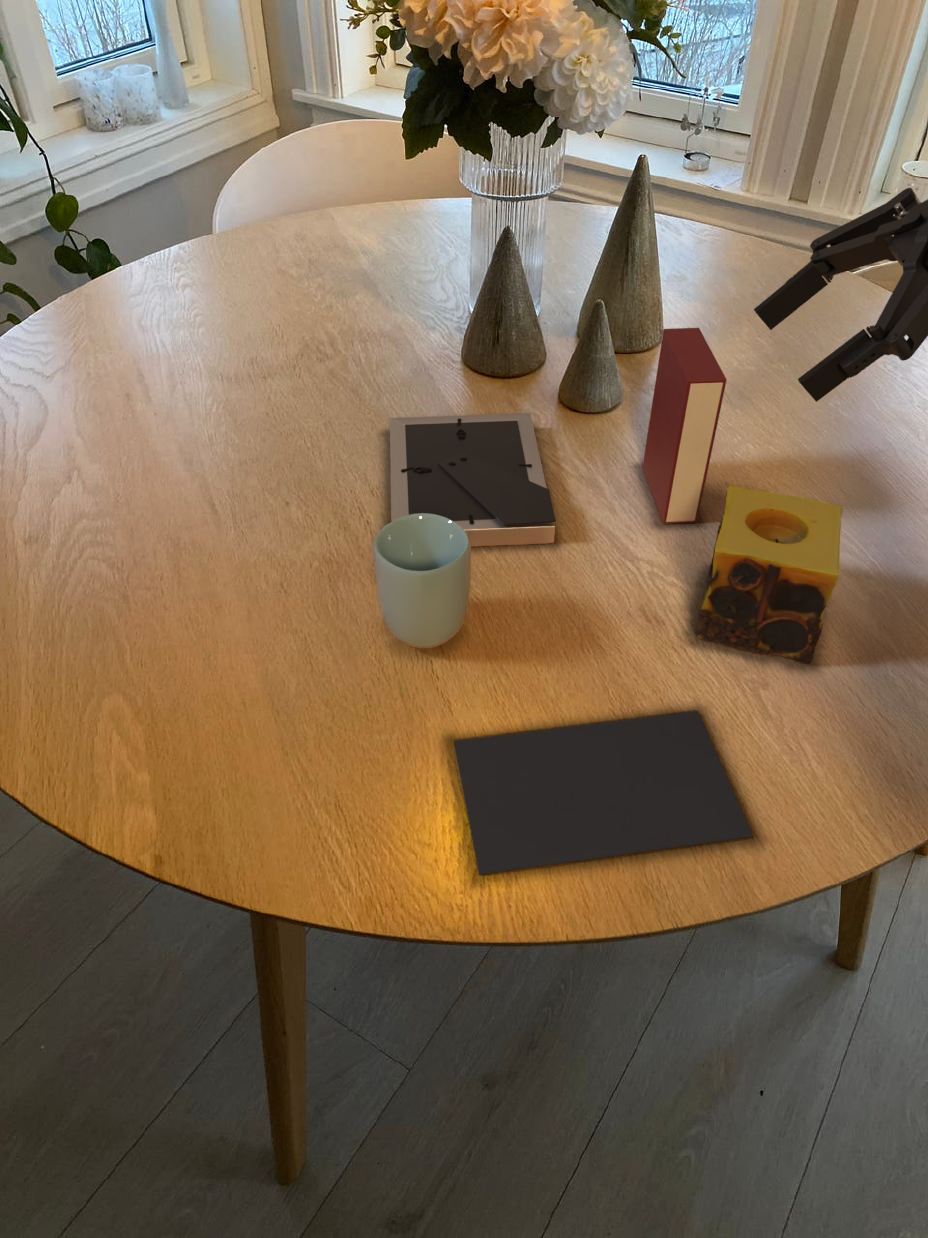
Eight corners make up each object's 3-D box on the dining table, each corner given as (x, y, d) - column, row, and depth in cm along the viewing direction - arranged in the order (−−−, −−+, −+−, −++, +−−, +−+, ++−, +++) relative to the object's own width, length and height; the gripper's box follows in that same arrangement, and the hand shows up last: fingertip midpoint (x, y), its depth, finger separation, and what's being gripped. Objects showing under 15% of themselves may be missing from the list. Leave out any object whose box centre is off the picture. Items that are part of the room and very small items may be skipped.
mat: (697, 713, 78) (698, 710, 77) (753, 837, 69) (753, 835, 69) (453, 743, 75) (453, 740, 75) (479, 875, 67) (479, 873, 67)
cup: (487, 629, 85) (489, 541, 78) (423, 675, 81) (419, 586, 74) (426, 588, 89) (423, 501, 82) (363, 630, 85) (353, 541, 78)
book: (642, 467, 103) (663, 328, 92) (674, 466, 103) (699, 327, 92) (662, 524, 96) (688, 380, 85) (697, 523, 96) (727, 379, 85)
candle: (811, 667, 81) (842, 578, 75) (691, 640, 84) (712, 551, 77) (819, 592, 88) (848, 504, 82) (708, 569, 91) (728, 482, 84)
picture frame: (553, 543, 94) (529, 428, 109) (555, 520, 92) (530, 406, 107) (392, 550, 93) (390, 433, 108) (391, 526, 91) (389, 411, 106)
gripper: (1099, 275, 73) (851, 450, 82) (955, 163, 91) (765, 317, 100) (1061, 205, 69) (805, 398, 78) (919, 103, 87) (725, 269, 97)
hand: (782, 353), depth 89 cm, fingers open, 13 cm apart
